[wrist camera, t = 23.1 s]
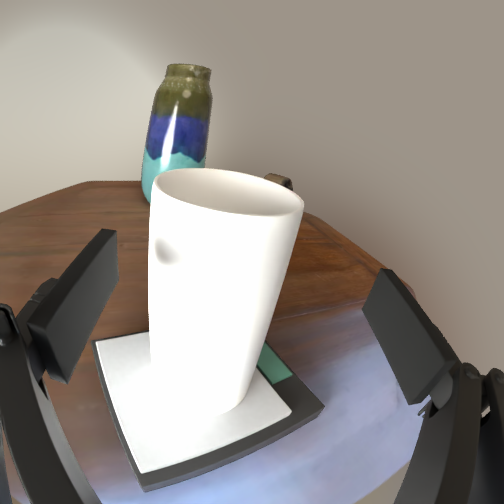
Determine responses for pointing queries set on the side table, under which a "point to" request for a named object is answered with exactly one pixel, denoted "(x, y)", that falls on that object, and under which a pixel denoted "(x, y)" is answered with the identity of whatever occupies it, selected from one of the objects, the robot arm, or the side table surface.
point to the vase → (177, 123)
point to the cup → (214, 281)
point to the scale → (194, 426)
